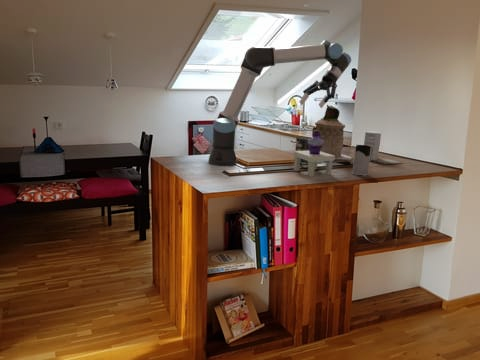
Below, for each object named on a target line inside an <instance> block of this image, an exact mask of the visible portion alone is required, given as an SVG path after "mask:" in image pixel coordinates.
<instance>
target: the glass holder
mask: <svg viewBox="0 0 480 360" xmlns="http://www.w3.org/2000/svg"><path fill="white" fill-rule="evenodd" d="M371 149H372V151H371V156H370V150H371ZM372 153H373V148H372V147H370V146H367V145H364V144H356V146H355V150H354V156H353V164H352V171H351V173H352V174H351V175H353V174H354V176H357V175H368V176H369V166H370V162H371V161H372V160H371V157H372Z"/></svg>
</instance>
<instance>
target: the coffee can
mask: <svg viewBox="0 0 480 360" xmlns="http://www.w3.org/2000/svg"><path fill="white" fill-rule="evenodd" d="M312 138H313V137H310V136H296V138H295V139H296V141H295V148H294V149H295V151H309V146H308V139H312ZM300 163H301V164H300V165H308V164H309V161H307V160H304V159H301V161H300Z"/></svg>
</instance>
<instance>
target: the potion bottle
mask: <svg viewBox="0 0 480 360" xmlns="http://www.w3.org/2000/svg"><path fill="white" fill-rule="evenodd" d="M312 135H313V137H311V138H312V139H308V146H309V153H310V154H315V155H319V153H320V151H321V148H322V147H323V143H324V141H323V140H321V139H319V136H321V133H320V131H319V130H314V132H313V133H312V132H311V136H312Z"/></svg>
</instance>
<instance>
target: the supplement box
mask: <svg viewBox="0 0 480 360" xmlns="http://www.w3.org/2000/svg"><path fill="white" fill-rule="evenodd" d="M364 133H365V134H364V140H363V145H367V146H370V147H372V148H373V153H372V157H371V160H370V161H376V160H377V161H378V159H379V150H380V147H381V146H380V144H381V138H382V137H381V136H382V131H374V130H366V131H365V132H364ZM371 151H372V149H371V150H370V156H371Z"/></svg>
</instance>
